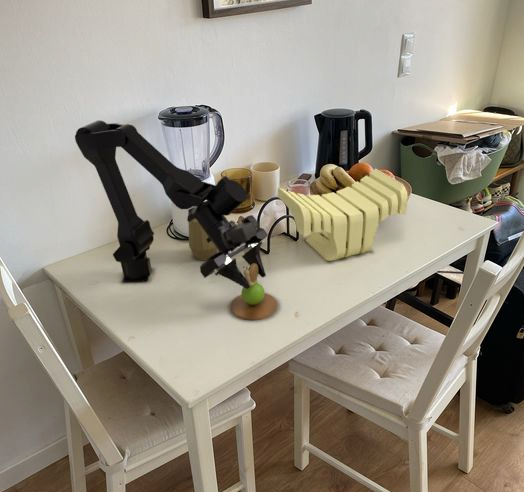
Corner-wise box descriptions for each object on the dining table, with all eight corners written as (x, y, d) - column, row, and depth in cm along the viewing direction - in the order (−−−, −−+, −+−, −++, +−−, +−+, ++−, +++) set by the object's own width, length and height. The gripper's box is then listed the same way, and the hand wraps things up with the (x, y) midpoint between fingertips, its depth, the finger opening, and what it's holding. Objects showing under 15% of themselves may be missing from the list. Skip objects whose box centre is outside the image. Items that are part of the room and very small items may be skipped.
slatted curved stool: (303, 272, 134) (304, 209, 124) (279, 246, 147) (277, 187, 137) (401, 248, 143) (409, 187, 133) (370, 225, 155) (375, 168, 145)
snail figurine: (236, 309, 121) (233, 264, 114) (247, 294, 125) (245, 251, 119) (258, 313, 119) (256, 269, 112) (268, 298, 124) (267, 255, 117)
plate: (229, 321, 118) (229, 319, 118) (231, 294, 127) (231, 292, 127) (277, 319, 118) (277, 317, 117) (276, 293, 127) (276, 291, 127)
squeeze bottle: (190, 249, 147) (182, 189, 137) (219, 247, 148) (213, 187, 138) (190, 263, 141) (181, 201, 131) (219, 261, 141) (213, 199, 131)
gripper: (204, 224, 105) (249, 287, 106) (260, 194, 117) (300, 250, 118) (181, 248, 113) (223, 306, 114) (235, 217, 126) (273, 270, 126)
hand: (256, 282), depth 118 cm, fingers closed on snail figurine, 5 cm apart
